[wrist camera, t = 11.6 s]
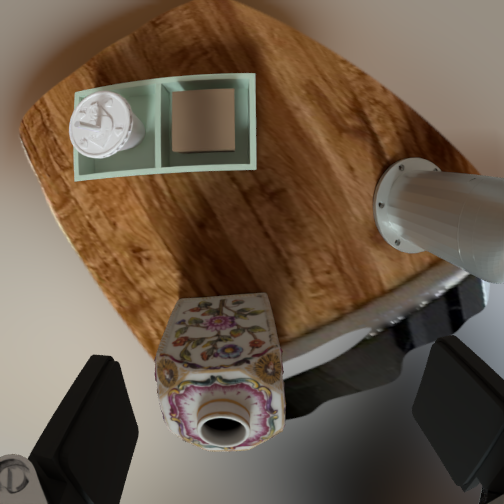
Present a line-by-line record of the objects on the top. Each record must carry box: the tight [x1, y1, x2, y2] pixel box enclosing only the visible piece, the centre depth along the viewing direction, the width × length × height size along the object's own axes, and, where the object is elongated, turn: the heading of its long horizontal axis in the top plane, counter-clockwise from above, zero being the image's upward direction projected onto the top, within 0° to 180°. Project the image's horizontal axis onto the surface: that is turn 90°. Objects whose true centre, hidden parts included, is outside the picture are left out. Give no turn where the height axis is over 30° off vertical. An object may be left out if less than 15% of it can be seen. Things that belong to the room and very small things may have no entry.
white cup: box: [69, 91, 145, 159], centre depth 27 cm, size 6×6×14 cm
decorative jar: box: [154, 293, 286, 451], centre depth 33 cm, size 12×12×18 cm
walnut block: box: [172, 88, 235, 154], centre depth 31 cm, size 6×6×6 cm
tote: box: [74, 73, 256, 181], centre depth 32 cm, size 20×10×5 cm, turn 90°
